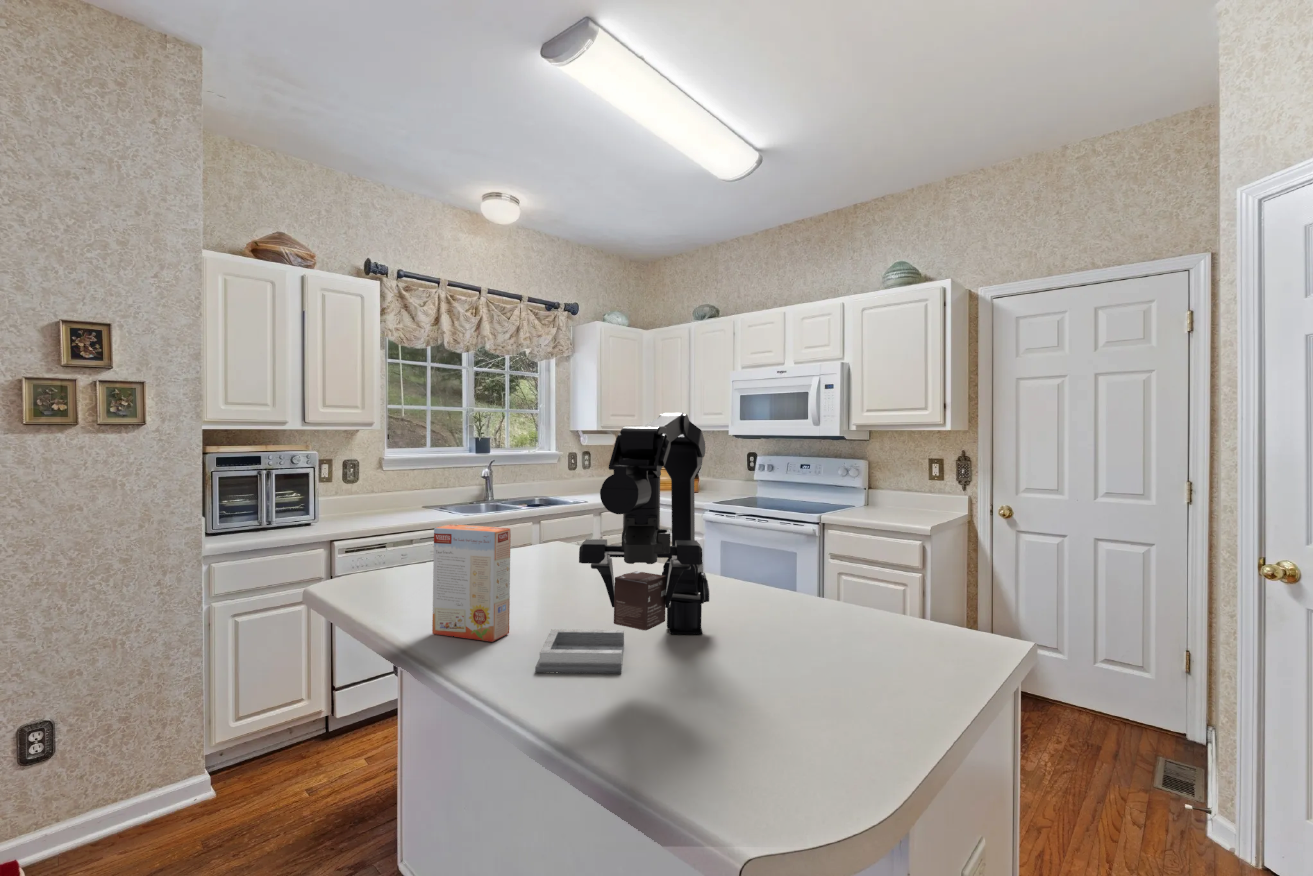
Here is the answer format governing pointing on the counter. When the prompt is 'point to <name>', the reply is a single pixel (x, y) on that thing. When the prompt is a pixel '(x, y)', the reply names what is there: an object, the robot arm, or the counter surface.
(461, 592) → the cracker box
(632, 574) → the box
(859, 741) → the counter surface
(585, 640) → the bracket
